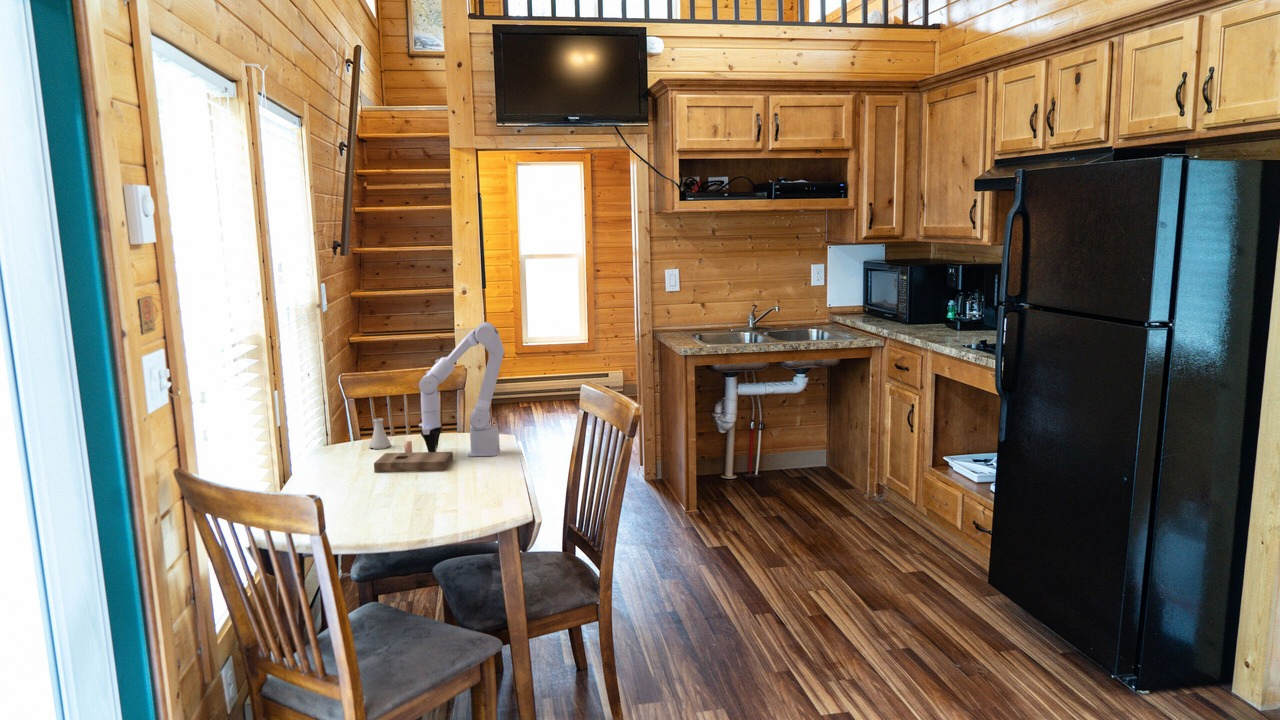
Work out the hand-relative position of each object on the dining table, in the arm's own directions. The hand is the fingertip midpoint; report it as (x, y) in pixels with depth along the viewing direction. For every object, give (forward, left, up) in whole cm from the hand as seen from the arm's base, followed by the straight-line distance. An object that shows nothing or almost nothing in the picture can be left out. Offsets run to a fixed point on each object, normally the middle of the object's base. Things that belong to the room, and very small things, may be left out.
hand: (432, 450), depth 279 cm
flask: (+22, -14, -2) cm, 26 cm away
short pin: (+9, -3, -2) cm, 10 cm away
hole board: (+3, +12, -2) cm, 13 cm away
